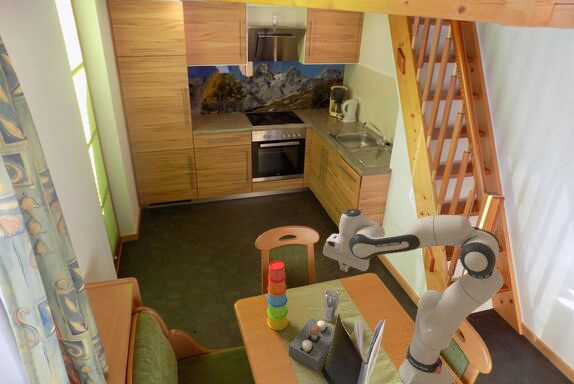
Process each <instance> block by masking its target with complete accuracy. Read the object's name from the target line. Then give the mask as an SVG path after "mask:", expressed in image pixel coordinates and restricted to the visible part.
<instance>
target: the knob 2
mask: <svg viewBox="0 0 574 384" xmlns="http://www.w3.org/2000/svg"><path fill="white" fill-rule="evenodd" d="M317 321H318V322H317V325H318V326H319V327H320V333H322V334H324V330H325V329H326V325H327V323H326V322H325V320H317Z"/></svg>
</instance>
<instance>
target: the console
mask: <svg viewBox="0 0 574 384" xmlns="http://www.w3.org/2000/svg"><path fill="white" fill-rule="evenodd" d="M307 320H308V321H307V322H306V323H305V325H304V326H303V327H302V328H301V329H300V331H299V332H298V333H297V334H296V336H295V337H294V339H292V341H291V342H290V344H289V346H288V355H289V356H290V357H292V358H293V359H296V360H297V361H299V362H300V363H303V364H304V365H306V366H308V367H310V368H312V369H313V370H315V371H318V369H319V368H320V367H321V365H322V364H323V362H324V360H325V359H326V357H327V356H328V354H329V353H330V351H329V349H330V346H331V343H332V340H333V334H334V330H336V329H335V328H332V327H331V326H329V325H327V324H326V329H325V330H324V334H322V333H320V332H319V334H318V337H317V340H316V341H312V340H311V333H310V329H311V326H312V325H317V322H318V321H319V320H317V319H314V318H313V317H309V319H307ZM304 340H310V341H311V342H312V348H311V350H310V354H307V353H305V352H303V348H302V344H303V341H304ZM328 352H329V353H328Z"/></svg>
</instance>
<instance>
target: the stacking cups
mask: <svg viewBox="0 0 574 384" xmlns="http://www.w3.org/2000/svg"><path fill="white" fill-rule="evenodd" d="M285 268H286V267H285V264H284V262H283V261H281V260H273V261H271V262H270V263H269V265H268V276H267V279H268V285H267V292H268V296H267V297H268V298H267V300H266V301H267V303H268V304H267V305H268V308H267V310H266V312H267V313H266V314H267V315H268V317H267V321H266V323H267V326H268V328H270V329H271V330H273V331H281V330H284V329H286V328H287V327H288V326H289V323H290V321H289V318H288V313H289V309H288V307H287V303H288V297H287V285H286V279H287V275H286V272H285V271H286V269H285Z"/></svg>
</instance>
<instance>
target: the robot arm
mask: <svg viewBox="0 0 574 384" xmlns="http://www.w3.org/2000/svg"><path fill="white" fill-rule="evenodd" d="M340 216H341V217H340V219H339V225H338V231H339V233H332V234H331V235H330V236H329V237H328V238H327V239H326V241H325V244H324V246H323V250H322V253H323V256H325V257H326V258H329V259H332V260H333V261H337V262H338V264H339V270H340V271H342V272H345V273H346V272H348V270H349V268H350V267H352V268H353V269H356V270H359V271H361V272H366V271H367V270H368V269H369V267H370V260H371V259H372V258H374V257H376V256H381V255H388V254H396V253H404V252H409V251H414V250H418V249H423V248H430V247H446V246H451V247H455V248H458V249H460V252H459V261H460V263H461V265H462V267H463V268H464V270H465V271H466V273H465V274H463V275H462V276H461V277H459V278H458V279H457V280H456V281H454V282H453V283H452V284H450V285H449V286H448V287H447V288H446V289H444V291H443V292H441V291H440V290H437V289H427V290H425V291H423V292H422V294H421V296H420V298H419V302H418V307H417V311H416V312H417V313H416V316H415V323H414V329H413V335H412V339H411V342H410V344H409V345H408V348H407V351H406V354H405V359H404V360H403V362H402V363H401V365H400V366H399V367H398V368H399V369H398V373H399V377H400V379H401V380H403V381H402V382H403V383H404V384H456V381H455V379H454V377H452V376H453V375H452V373H451V371H450V370H449V368H448V367H446V366H445V365H444V364H443V359H444V356H441V357H440V353H441V351H442V350H445V349H447V348H448V347H450V345H451V342H452V340H453V337H454V335H455V333H456V332H457V330H458V329H459V327H460V326H461V325H462V324H463V322H464V321H465V319H466V318H468V316H469V315H471V314H472V313H473V312H475V311H476V310H477V309H479V308H480V307H482V305H484V304H485V303H487V302H488V301H489V300H490V299H492V298H493V297H494V296H495V295H496V294H497V293H498V292H499V291H500V290H501V289H502V288H503V285H504V277H503V275H502V273H501V272H500V271H499V270H498V268H496V264H497V261H498V258H499V254H500V253H499V252H500V250H501V248H500V247H501V245H500V241H499V239H498V237H497V236H496V234H494V233H492V232H490V231H488V230H485V229H482V228H481V227H477V226H472V224H471V222H470V220H469V219H468V218H467V217H466V216H464V215H457V214H438V215H427V216H423V217H420V218H416V220H414V221H413V222H412V223H411V224H410V225H409V226H407V228H405V229H404V230H403V231H401V232H398V233H397V234H394V235H387V236H385V228H384V227H383V225H382V224H380V223H379V222H377V221H375V220H372V219H369V217H367V216H365V214H364V213H363V211H361V210H360V209H357V208H349V209H346V210H345V211H343V212H342V214H341V215H340Z"/></svg>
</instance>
